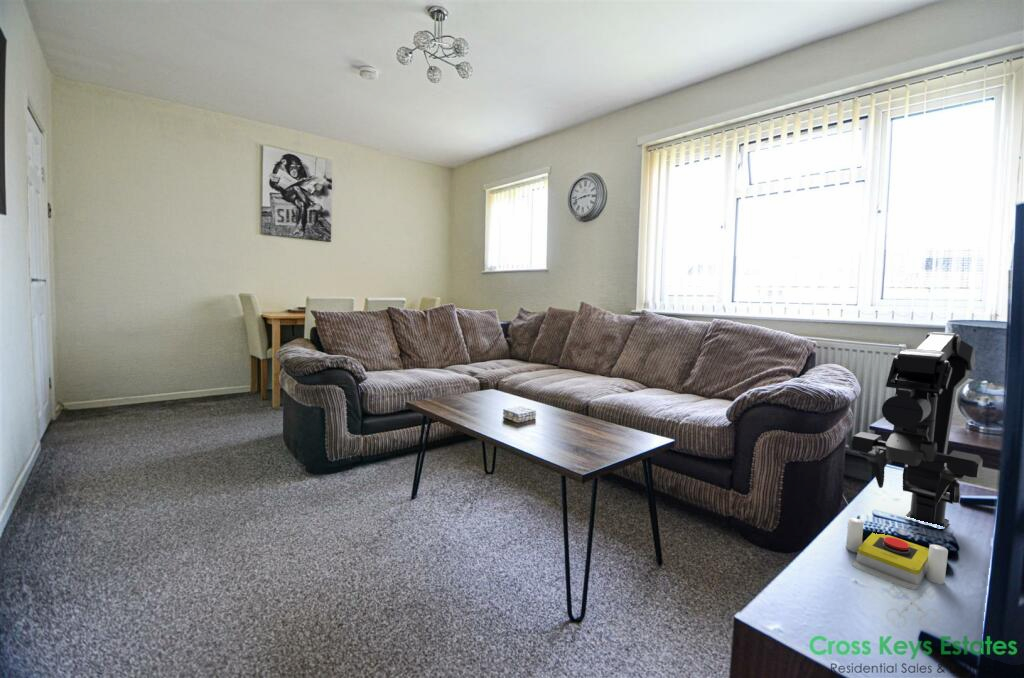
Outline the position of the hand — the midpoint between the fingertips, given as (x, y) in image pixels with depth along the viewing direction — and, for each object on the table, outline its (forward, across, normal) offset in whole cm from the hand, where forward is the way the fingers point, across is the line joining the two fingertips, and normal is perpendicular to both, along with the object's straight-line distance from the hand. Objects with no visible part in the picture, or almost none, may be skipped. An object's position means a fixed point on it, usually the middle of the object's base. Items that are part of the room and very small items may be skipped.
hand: (907, 494), depth 89 cm
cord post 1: (+12, -6, -7) cm, 15 cm away
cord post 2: (+12, +6, -7) cm, 15 cm away
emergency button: (+12, 0, -7) cm, 14 cm away
